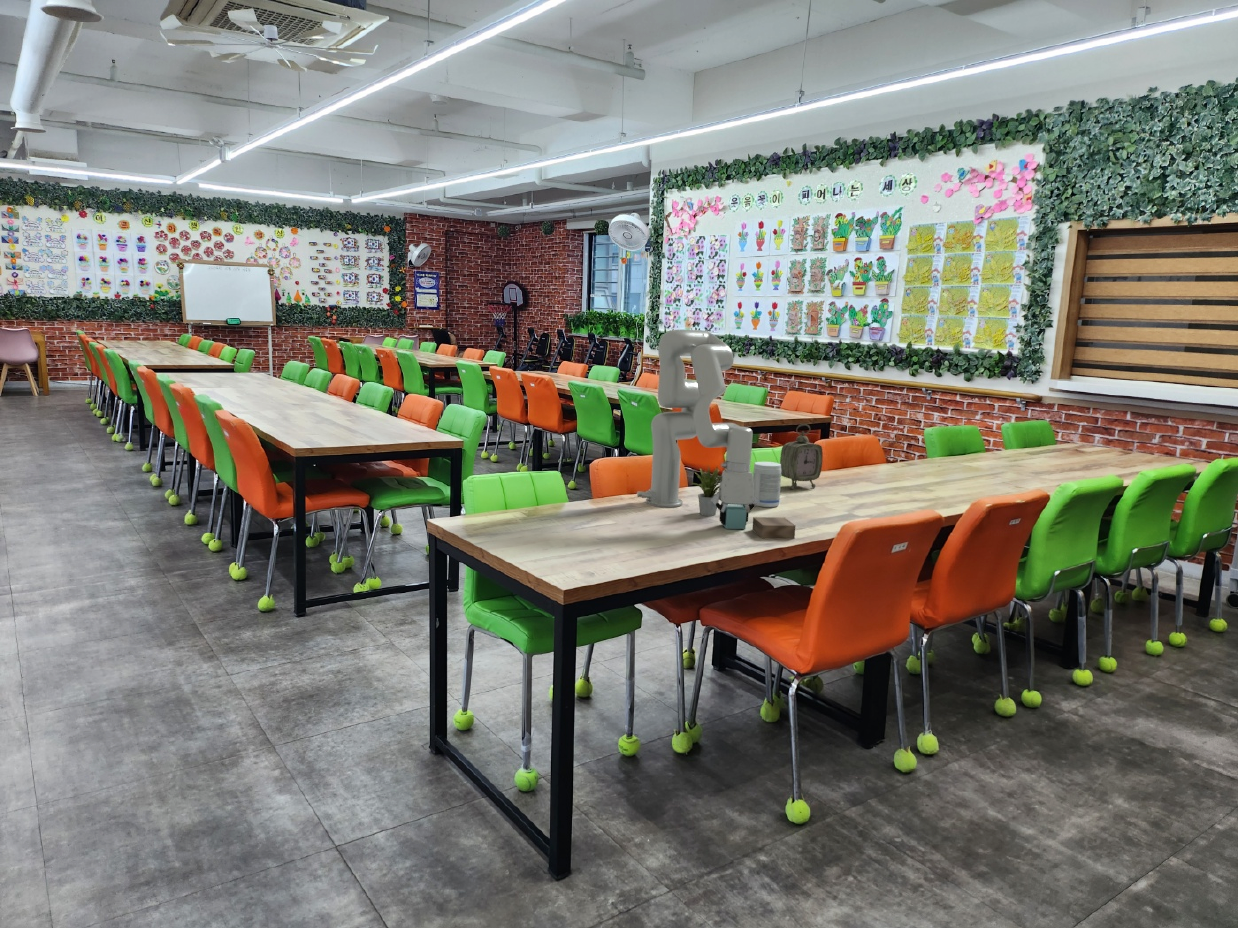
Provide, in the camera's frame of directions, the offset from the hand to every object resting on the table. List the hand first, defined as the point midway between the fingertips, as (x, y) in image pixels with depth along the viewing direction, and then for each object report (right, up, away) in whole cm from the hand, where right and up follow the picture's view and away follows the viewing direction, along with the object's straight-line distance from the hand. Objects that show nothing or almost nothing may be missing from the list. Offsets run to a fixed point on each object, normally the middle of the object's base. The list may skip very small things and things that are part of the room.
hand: (733, 523), depth 263 cm
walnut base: (+11, -3, -6) cm, 13 cm away
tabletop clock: (+34, +9, +67) cm, 76 cm away
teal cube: (0, -1, 0) cm, 1 cm away
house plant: (-6, +1, +15) cm, 16 cm away
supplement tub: (+16, +4, +34) cm, 38 cm away
